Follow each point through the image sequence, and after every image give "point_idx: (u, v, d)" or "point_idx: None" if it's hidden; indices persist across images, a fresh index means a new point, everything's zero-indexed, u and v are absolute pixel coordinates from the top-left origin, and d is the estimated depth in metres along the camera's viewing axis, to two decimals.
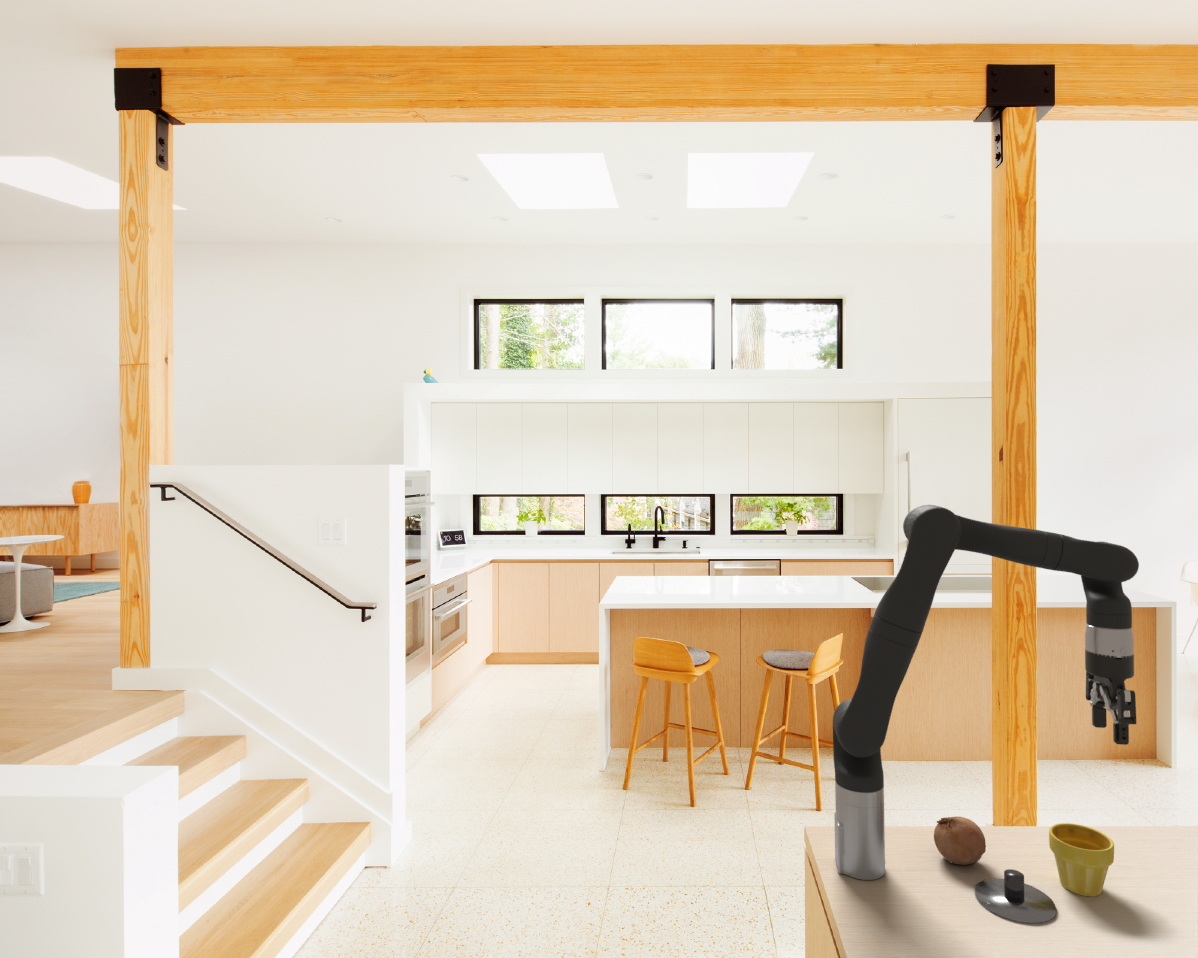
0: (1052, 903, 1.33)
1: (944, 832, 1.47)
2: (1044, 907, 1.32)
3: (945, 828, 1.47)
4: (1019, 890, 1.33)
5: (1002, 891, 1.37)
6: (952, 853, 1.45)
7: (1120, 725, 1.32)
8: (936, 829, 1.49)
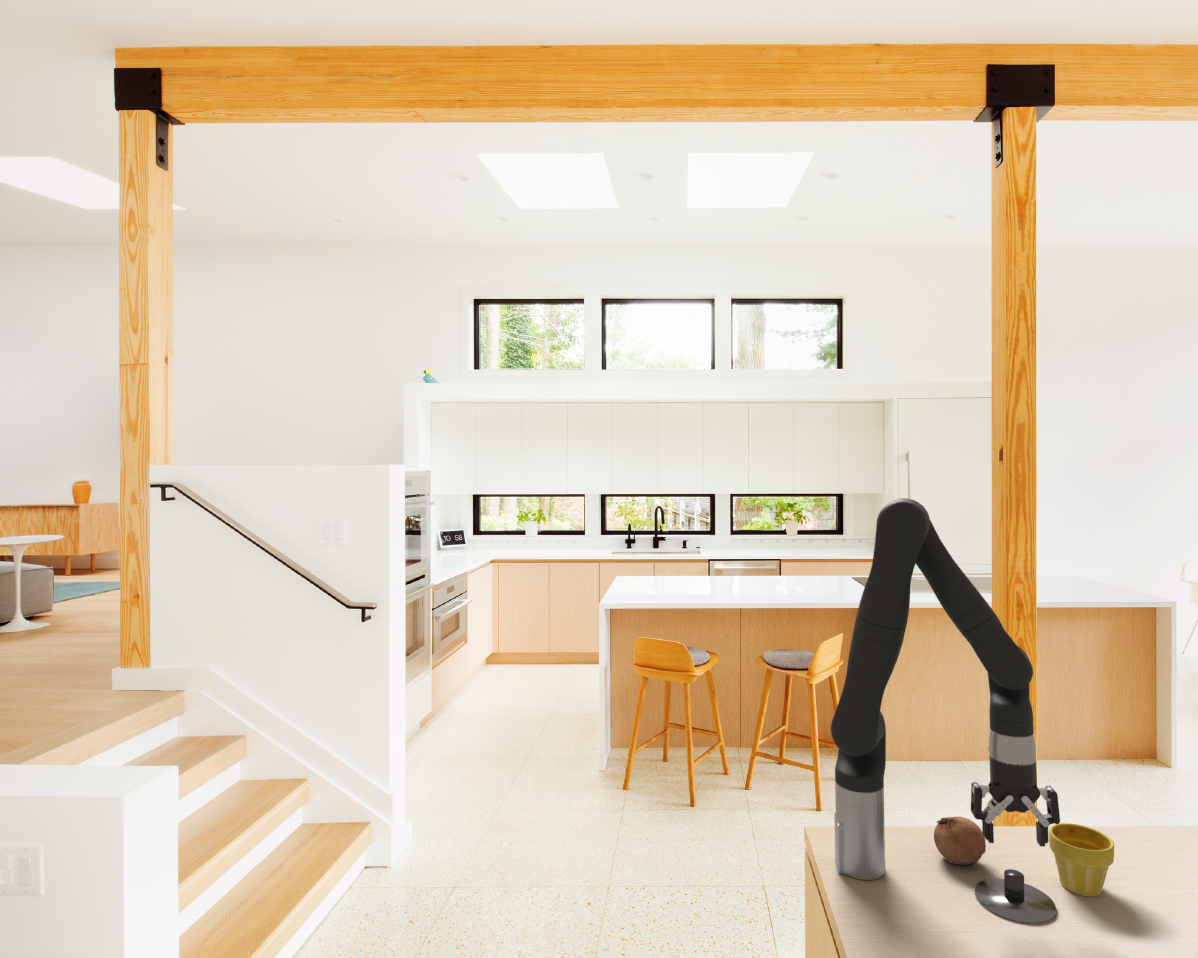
0: (1052, 903, 1.33)
1: (944, 832, 1.47)
2: (1044, 907, 1.32)
3: (945, 828, 1.47)
4: (1019, 890, 1.33)
5: (1002, 891, 1.37)
6: (952, 853, 1.45)
7: None
8: (936, 829, 1.49)
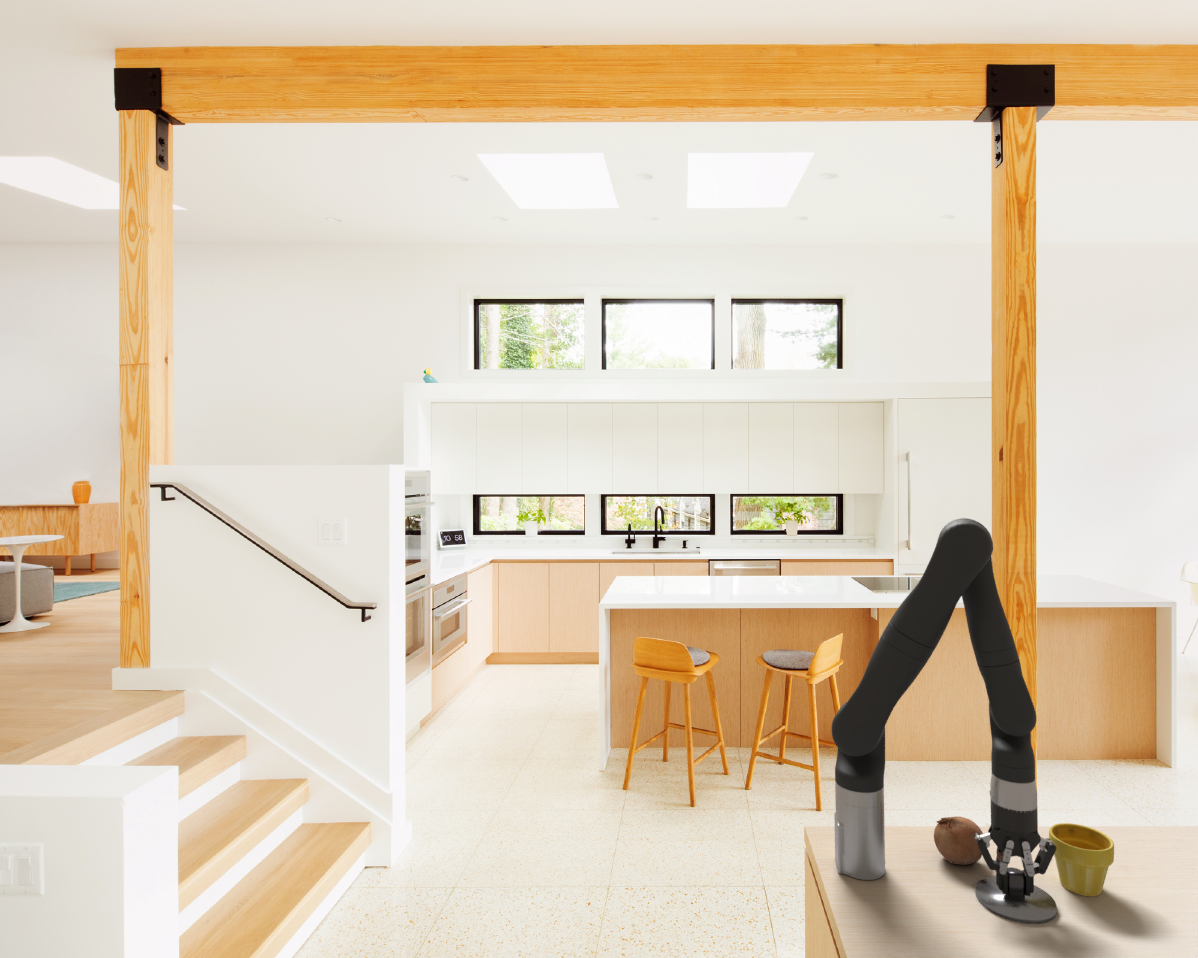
0: (1053, 901, 1.33)
1: (944, 832, 1.47)
2: (1045, 905, 1.32)
3: (945, 828, 1.47)
4: (1020, 888, 1.33)
5: None
6: (952, 853, 1.45)
7: (1033, 875, 1.33)
8: (936, 829, 1.49)
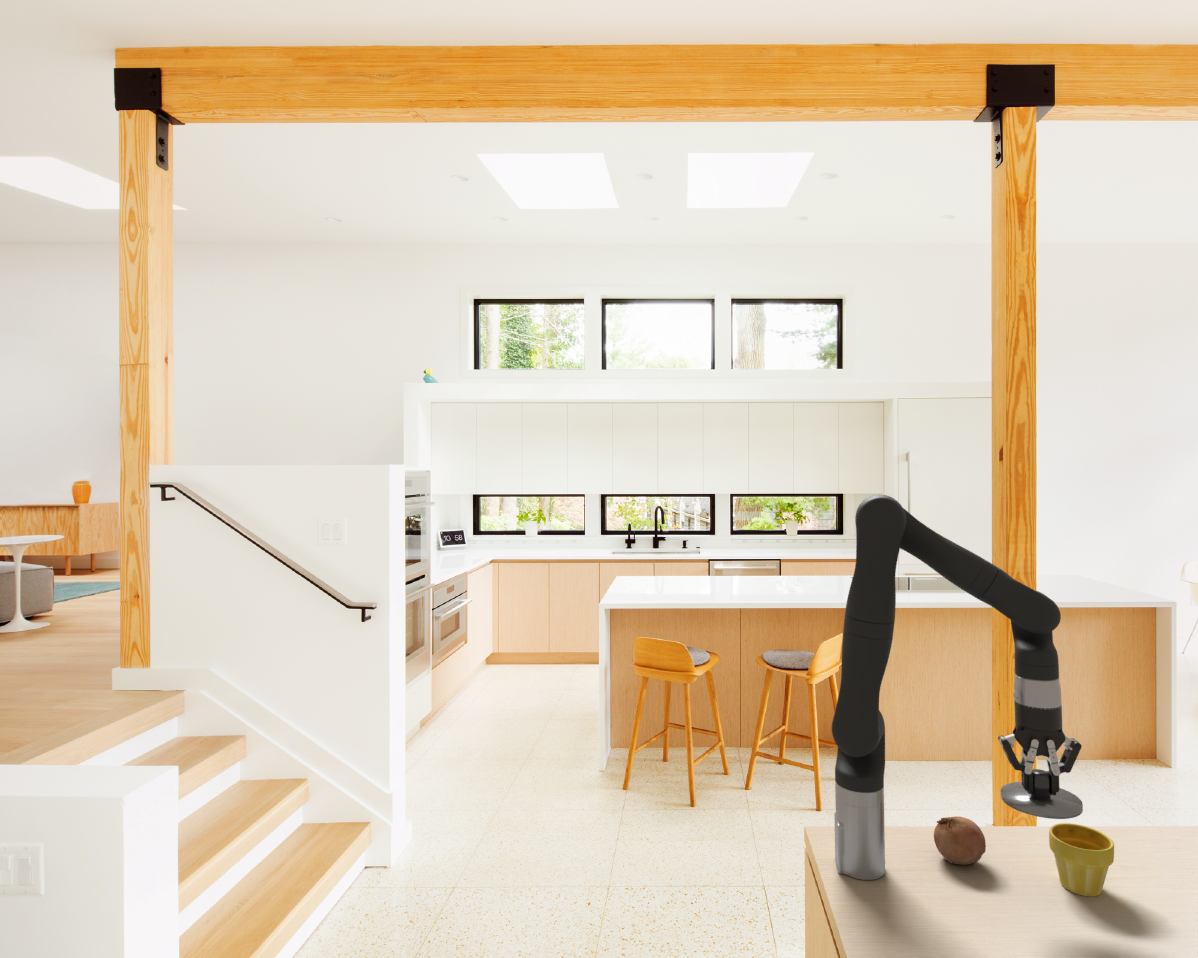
0: (1079, 800, 1.33)
1: (944, 832, 1.47)
2: (1071, 803, 1.32)
3: (945, 828, 1.47)
4: (1045, 787, 1.34)
5: None
6: (952, 853, 1.45)
7: (1059, 774, 1.34)
8: (936, 829, 1.49)
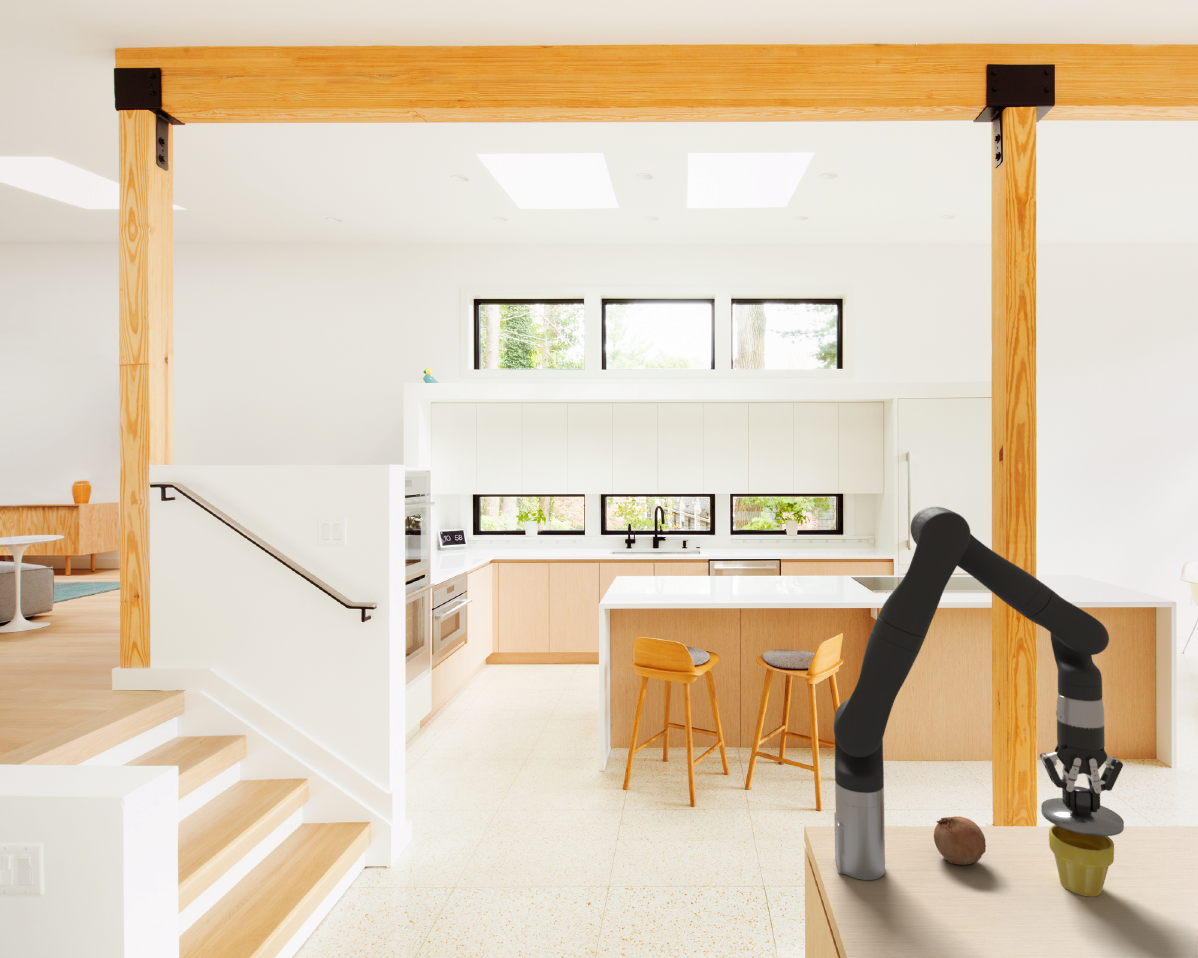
0: (1119, 817, 1.36)
1: (944, 832, 1.47)
2: (1112, 820, 1.35)
3: (945, 828, 1.47)
4: (1087, 804, 1.37)
5: None
6: (952, 853, 1.45)
7: (1100, 792, 1.37)
8: (936, 829, 1.49)
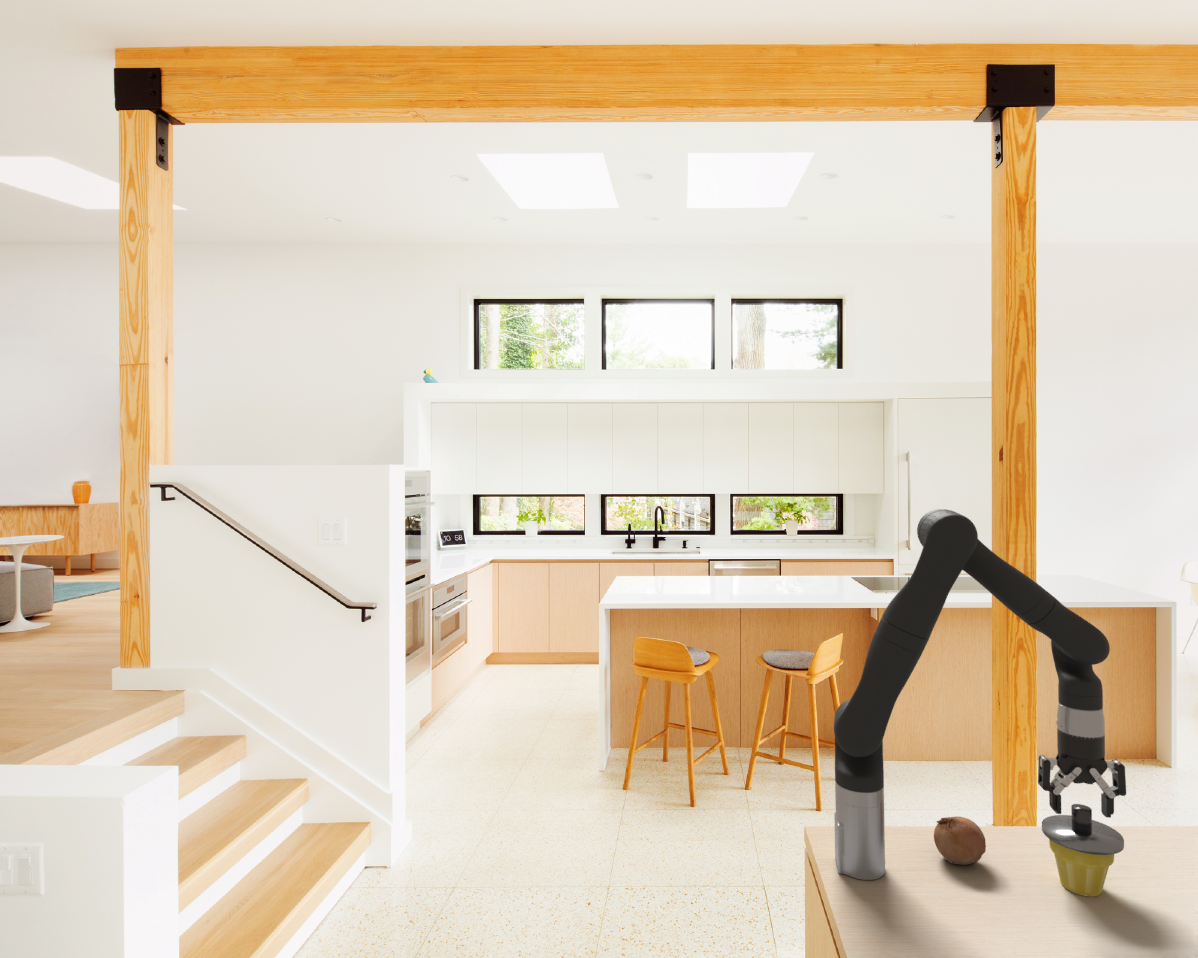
0: (1119, 835, 1.36)
1: (944, 832, 1.47)
2: (1112, 838, 1.35)
3: (945, 828, 1.47)
4: (1087, 822, 1.37)
5: (1069, 825, 1.40)
6: (952, 853, 1.45)
7: (1113, 797, 1.37)
8: (936, 829, 1.49)
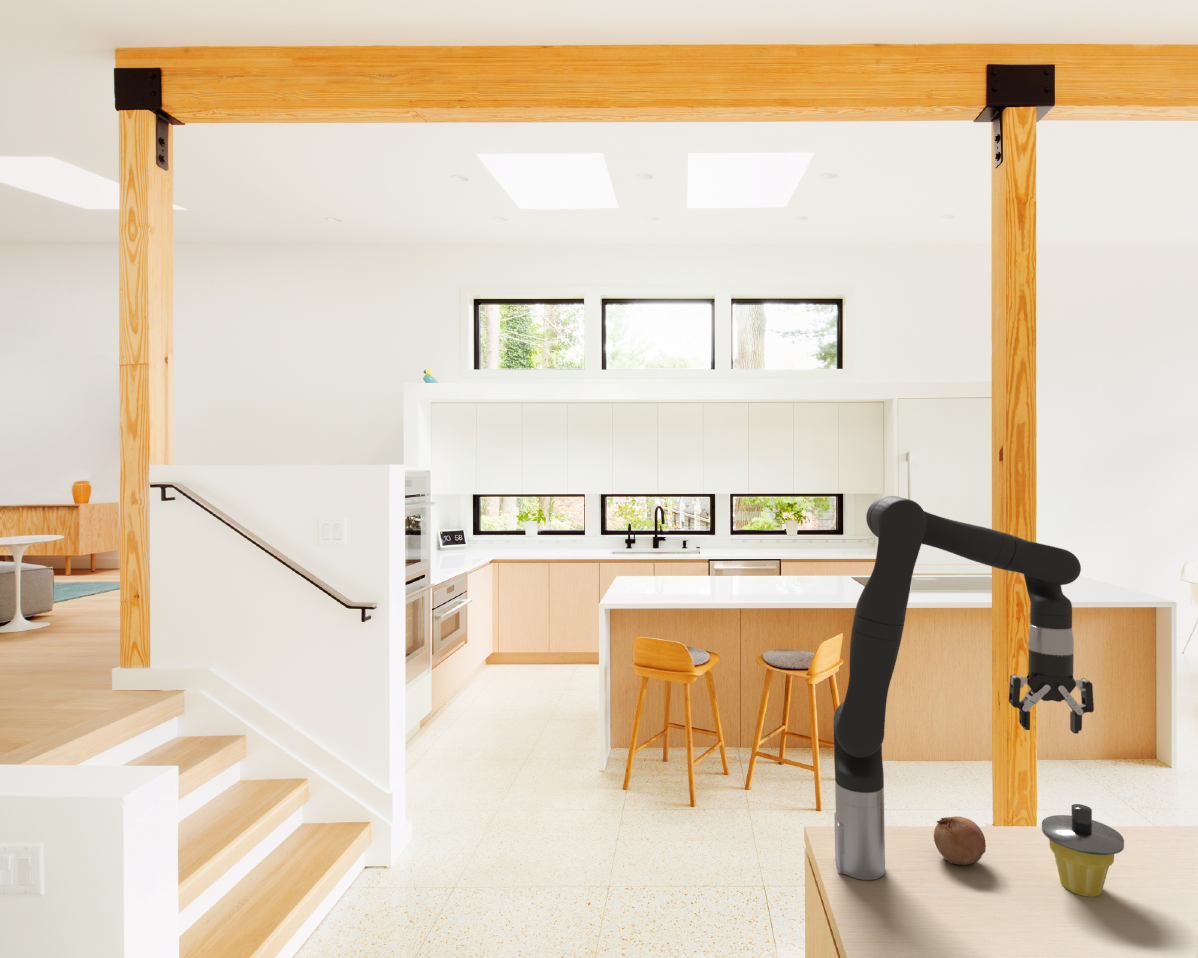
0: (1119, 835, 1.37)
1: (944, 832, 1.47)
2: (1112, 838, 1.35)
3: (945, 828, 1.47)
4: (1087, 822, 1.37)
5: (1069, 826, 1.40)
6: (952, 853, 1.45)
7: (1082, 714, 1.42)
8: (936, 829, 1.49)
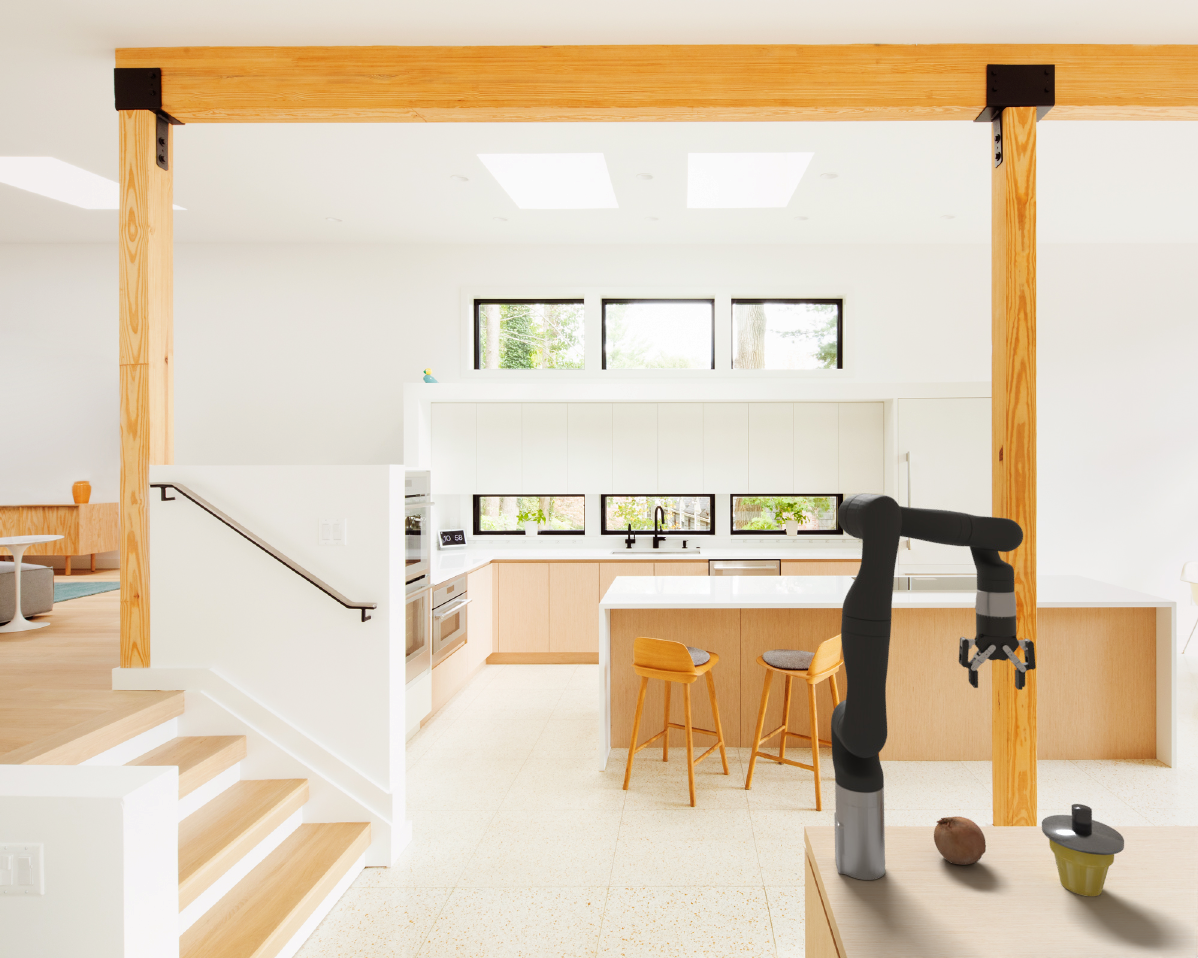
0: (1119, 835, 1.36)
1: (944, 832, 1.47)
2: (1112, 838, 1.35)
3: (945, 828, 1.47)
4: (1088, 822, 1.37)
5: (1069, 825, 1.40)
6: (952, 853, 1.45)
7: None
8: (936, 829, 1.49)
